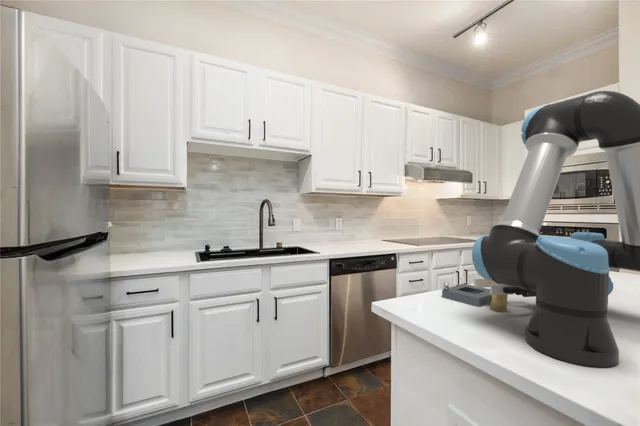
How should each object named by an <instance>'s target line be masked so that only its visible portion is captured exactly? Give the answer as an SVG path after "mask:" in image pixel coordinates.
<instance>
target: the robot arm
mask: <svg viewBox="0 0 640 426" xmlns="http://www.w3.org/2000/svg"><path fill="white" fill-rule="evenodd" d="M521 125H522V126H521V129H520V130H521V132H522V134H521V140H522V142H523V144H524V147H525V149H526V150H527V154H526V157H525V160H524V163H523V165H522V168H521V170H520V172H519V175H518V177H517V180H516V184H515V186H514V188H513V190H512V193H511V196H510V198H509V201H508V204H507V207H506V209H505V211H504V214H503V216H502V219H501V221H500V222H499V223H495V224H494V225H492V226H491V230H490V232H489V234H488V235H482V236H480V237H478V238H477V239H476V240H475V242H474V244H473V246H472V251H471V258H472V264H473V267H474V269H475V271H476V272H477V274H478V275H479V276H481V277H473V286H474V287H475V288H489V289H490V294H491V295H507V296H508V295H516V296H521V297H523V298H533V297H535V306H534V307H535V308H534V310H533V312H532V314H531V316H530V319H529V321H528V323H527V326H526V328H525V340H524V341H525V342H526V343H527V345H528V346H530V347H531V348H533V349H534V350H536V351H538V352H540V353H541V354H544V355H546V356H549V357H552V358H554V359H558V360H560V361H565V362H567V363H571V364H575V365H581V366H587V367H596V368H607V367H608V368H609V367H614V366H616V365H618V364H619V360H620V350H619V347H618V344H617V341H616V338H615V336H614V334H613V332H612V328H611V326H610V324H609V321H608V307H609V305H608V304H609V295H610V294H611V293H612V292H613V290H614V283H613V281H612V278H611V277H610V271H611V268H612V269H620V270H625V271H626V270H627V271H633V272H638V273H639V272H640V103H638V101H636V100H634V99H633V98H632V97H630V96H628V95H626V94H624V93H622V92H618V91H611V90H599V91H593V92H589V93H588V94H584V95H580V96H577V97H572V98H568V99H565V100H563V101H557V102H555V103H551V104H550V103H549V104H546V105H543V106H542V107H541V106H540V107H539V108H536V109H534V110H531V112H530V113H528V114H527V116H526V117H525V119H524V120H523V123H522V124H521ZM592 140H597V142H598V143H597V144H598V148H599V149H600V150H603V151H604V152H605V155H606V156H605V157H606V162H607V167H608V172H609V178H610V182H611V188H612V193H613V199H614V203H615V209H616V214H617V220H618V225H619V231H620V237H621V241H617V240H607V239H606V238H605V236H604V234H603V233H601V232H599V233H598V232H586V231H576V232H573V233H572V234H571V235H570V237H564V236H563V237H561V236H554V235H541V234H540V230H541V229H542V226H543V223H544V220H545V217H546V214H547V211H548V209H549V206H550V203H551V200H552V199H553V195H554V192H555V190H556V187H557V184H558V183H559V182H558V181H559V179H560V176H561V173H562V170H563V168H564V165H565V162H566V159H567V158H568V157H571V156H572V155H574V154H575V153H576V152H577V150H578V147H579V145H580V143H582V142H587V141H592ZM490 281H494V282H495V283H499V284H490Z"/></svg>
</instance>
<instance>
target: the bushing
mask: <svg viewBox="0 0 640 426" xmlns="http://www.w3.org/2000/svg"><path fill="white" fill-rule="evenodd" d="M490 284H499V283H495V282H494V281H490ZM489 310H491V311H493V312H497V313H507V312H508V295H491V294H490V303H489Z"/></svg>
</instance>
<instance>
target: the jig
mask: <svg viewBox="0 0 640 426" xmlns="http://www.w3.org/2000/svg"><path fill="white" fill-rule="evenodd" d="M449 286H450V285H449V282H443V287H442V288H443V289H441V298H444V299H449V300H452V301H456V302H459V303H463V304H466V305H471V306H475V307H478V308H479V307H482V306H485V305H487V304H490V288H488V287H482V288H475V287H474V284H472V285H471V284H467V283H460V284H457V285H453V286H450V287H449Z"/></svg>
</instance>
